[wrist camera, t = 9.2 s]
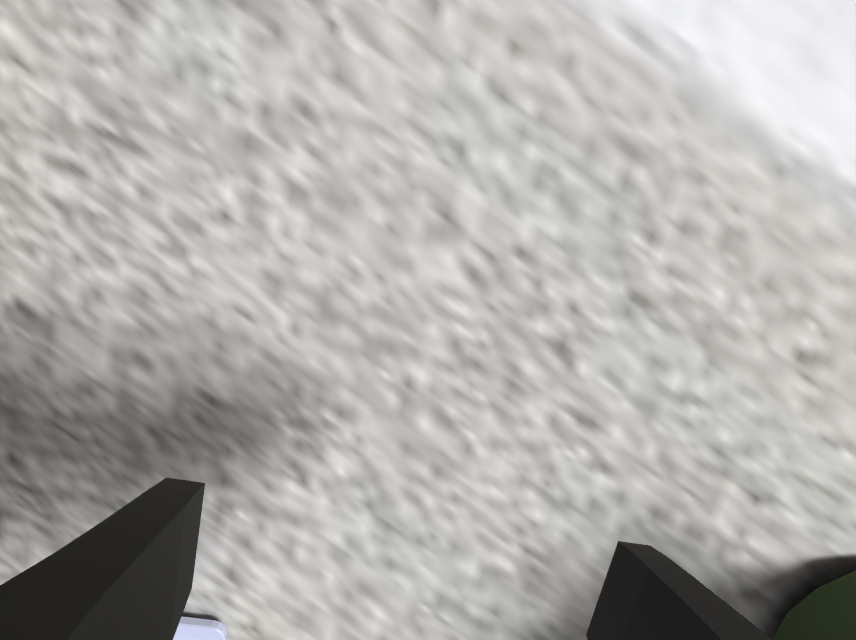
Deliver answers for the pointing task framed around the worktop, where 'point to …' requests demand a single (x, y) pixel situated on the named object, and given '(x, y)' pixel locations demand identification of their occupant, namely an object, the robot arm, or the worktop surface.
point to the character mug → (823, 613)
